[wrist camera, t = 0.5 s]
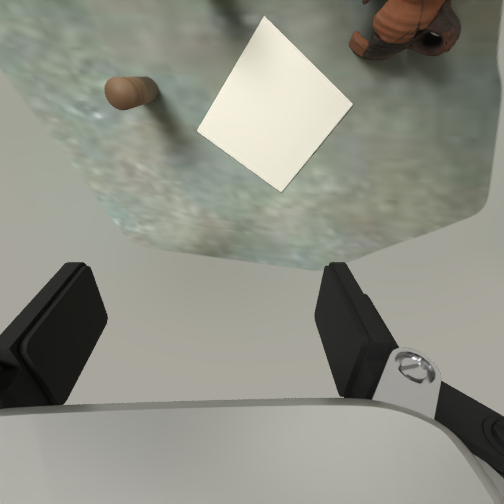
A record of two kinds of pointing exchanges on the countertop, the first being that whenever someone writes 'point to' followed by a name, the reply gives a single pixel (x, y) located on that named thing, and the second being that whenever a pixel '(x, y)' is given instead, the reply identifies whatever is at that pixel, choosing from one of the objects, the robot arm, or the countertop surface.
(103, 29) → the countertop surface
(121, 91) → the post
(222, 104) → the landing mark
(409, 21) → the reddish brown arched figurine
